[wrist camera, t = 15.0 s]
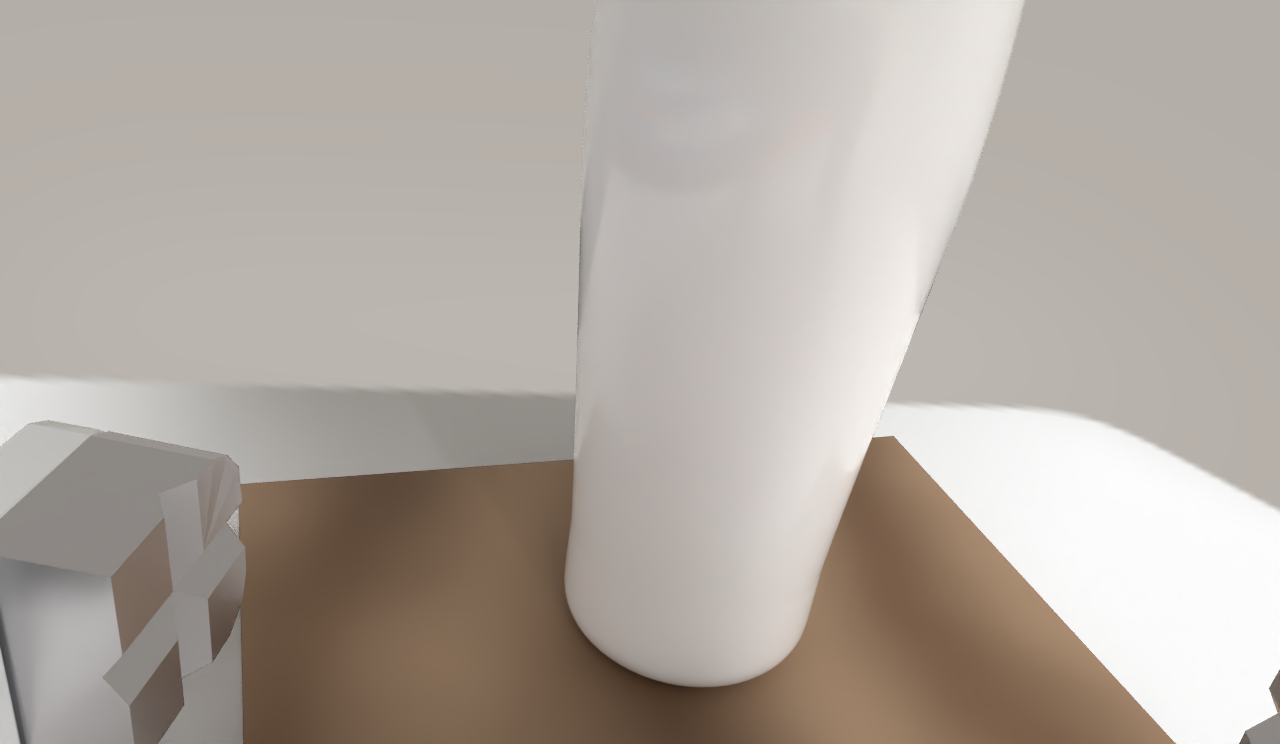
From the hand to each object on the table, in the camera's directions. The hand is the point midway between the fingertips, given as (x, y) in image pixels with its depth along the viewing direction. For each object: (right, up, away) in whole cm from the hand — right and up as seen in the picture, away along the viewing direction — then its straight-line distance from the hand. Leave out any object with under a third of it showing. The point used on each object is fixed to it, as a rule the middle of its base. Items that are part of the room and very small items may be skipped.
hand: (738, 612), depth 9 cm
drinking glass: (0, -4, +16) cm, 16 cm away
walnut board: (0, -4, +16) cm, 17 cm away
